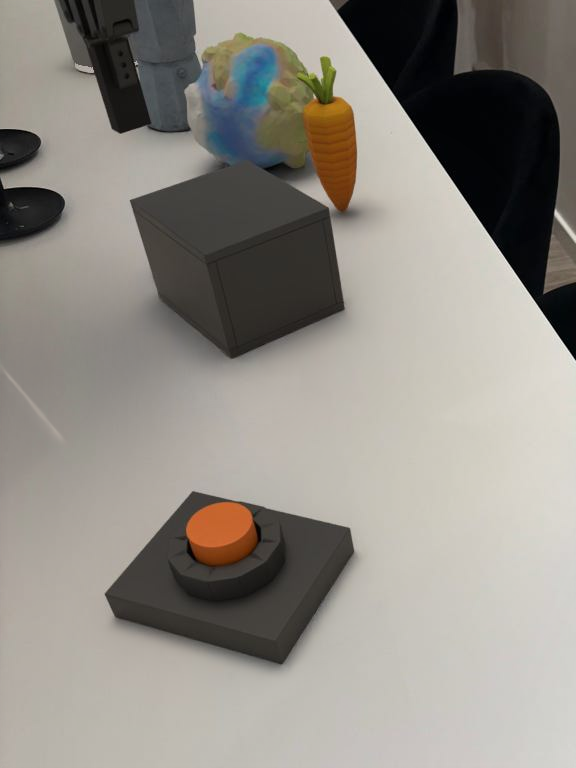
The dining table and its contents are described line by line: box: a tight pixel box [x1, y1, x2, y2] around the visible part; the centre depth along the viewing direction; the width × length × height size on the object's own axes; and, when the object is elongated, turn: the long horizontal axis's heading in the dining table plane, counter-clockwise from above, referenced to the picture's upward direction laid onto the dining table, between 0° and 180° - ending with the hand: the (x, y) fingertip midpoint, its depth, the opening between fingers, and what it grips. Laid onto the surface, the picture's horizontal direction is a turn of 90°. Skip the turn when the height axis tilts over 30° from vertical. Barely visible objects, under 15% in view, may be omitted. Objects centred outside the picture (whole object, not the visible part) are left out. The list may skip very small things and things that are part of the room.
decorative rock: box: [184, 31, 315, 170], centre depth 107 cm, size 14×16×15 cm
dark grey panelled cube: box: [129, 160, 346, 359], centre depth 85 cm, size 14×12×10 cm
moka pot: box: [129, 0, 202, 132], centre depth 115 cm, size 10×15×20 cm, turn 57°
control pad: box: [104, 490, 355, 665], centre depth 61 cm, size 12×10×4 cm
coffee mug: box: [54, 0, 138, 68], centre depth 134 cm, size 13×10×10 cm
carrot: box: [297, 55, 358, 213], centre depth 96 cm, size 5×5×15 cm
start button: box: [186, 502, 258, 567], centre depth 59 cm, size 4×4×2 cm
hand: (131, 126), depth 76 cm, fingers closed
